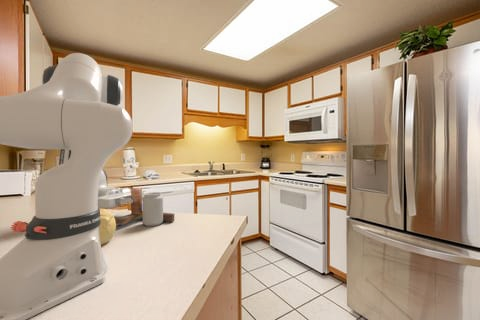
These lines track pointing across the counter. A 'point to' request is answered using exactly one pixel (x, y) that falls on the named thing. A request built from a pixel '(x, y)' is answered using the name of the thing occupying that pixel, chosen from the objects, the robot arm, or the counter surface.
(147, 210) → the can
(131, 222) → the rail
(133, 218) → the brown wooden stand
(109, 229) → the pale yellow rounded lump
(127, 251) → the counter surface
